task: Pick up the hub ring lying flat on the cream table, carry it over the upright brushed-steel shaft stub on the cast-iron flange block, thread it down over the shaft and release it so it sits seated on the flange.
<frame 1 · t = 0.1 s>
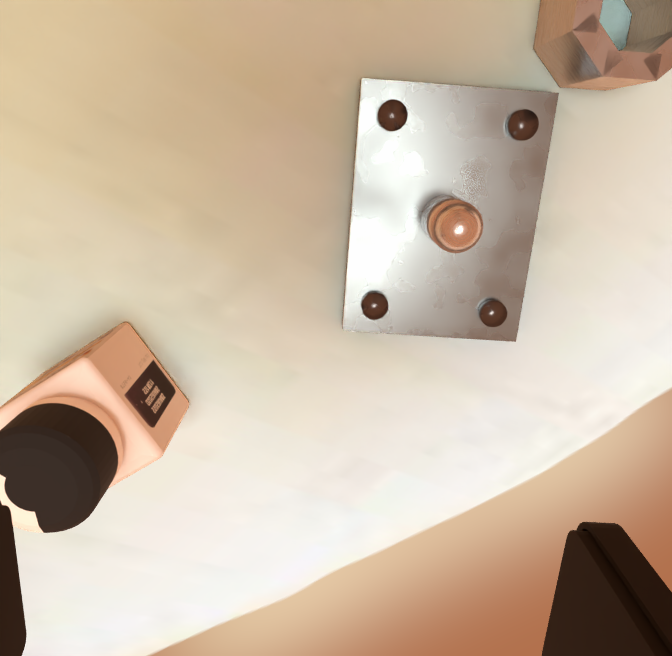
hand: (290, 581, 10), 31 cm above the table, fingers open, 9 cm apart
container: (119, 387, 42), on the table
hub ring: (593, 27, 35), on the table
shaft block: (439, 216, 39), on the table
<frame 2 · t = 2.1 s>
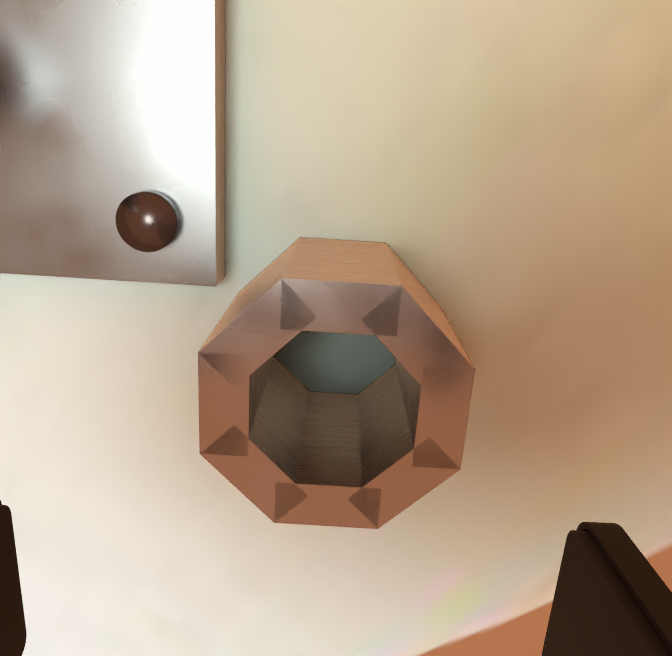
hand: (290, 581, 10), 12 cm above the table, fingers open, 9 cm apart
hub ring: (336, 337, 21), on the table
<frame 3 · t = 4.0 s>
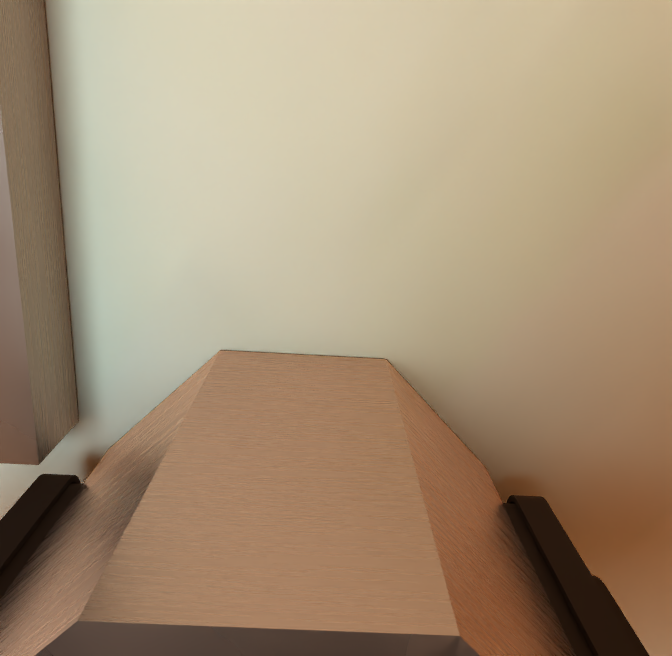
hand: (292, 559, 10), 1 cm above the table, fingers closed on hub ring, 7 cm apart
hub ring: (295, 524, 11), on the table, touching gripper
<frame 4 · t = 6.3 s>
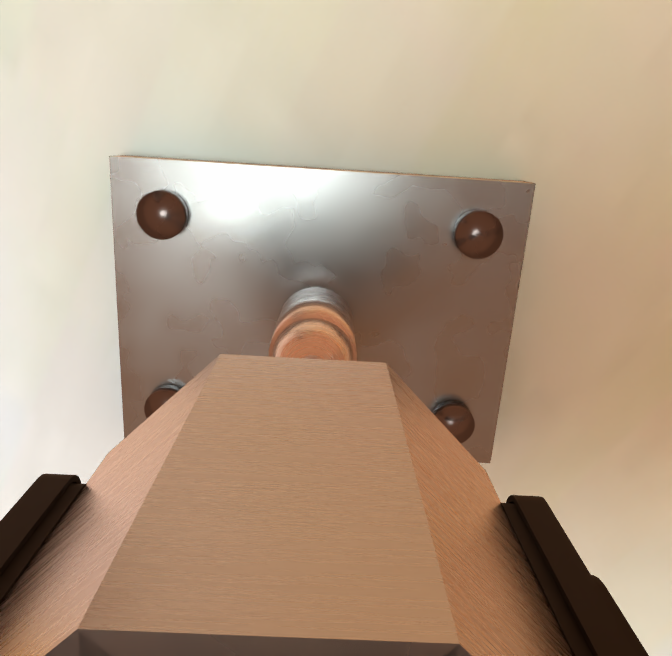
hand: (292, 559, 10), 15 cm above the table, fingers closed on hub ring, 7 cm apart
hub ring: (295, 527, 11), point 14 cm above the table, touching gripper
shaft block: (316, 312, 25), on the table
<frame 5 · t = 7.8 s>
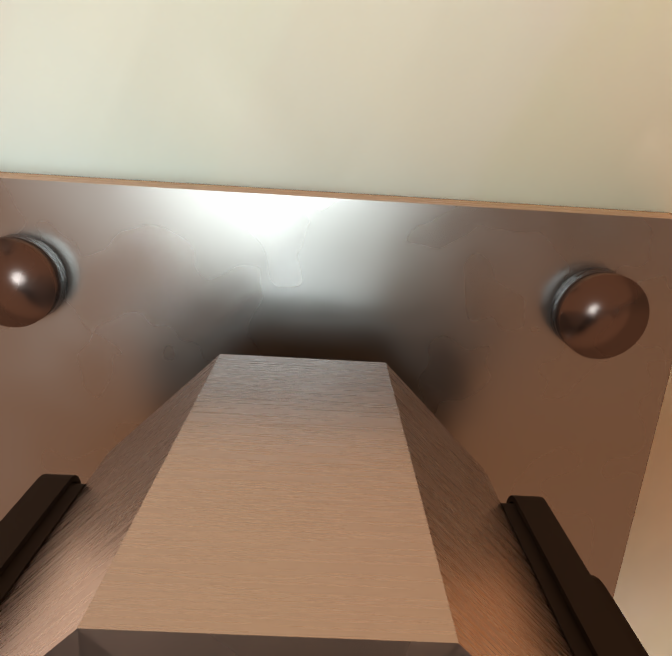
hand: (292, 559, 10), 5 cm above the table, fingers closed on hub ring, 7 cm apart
hub ring: (295, 527, 11), point 4 cm above the table, touching gripper
shaft block: (305, 430, 15), on the table
when the fingers open (4 cm above the table, at t = 8.9 s): hub ring drops 1 cm, resting on shaft block.
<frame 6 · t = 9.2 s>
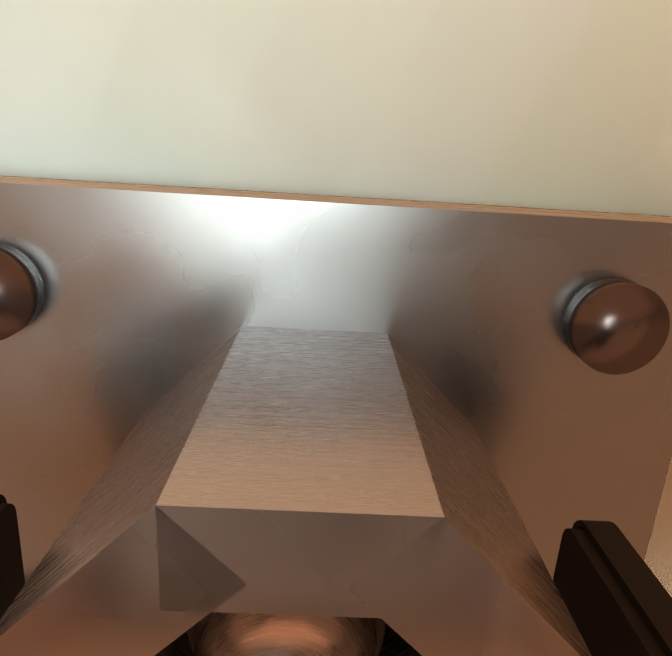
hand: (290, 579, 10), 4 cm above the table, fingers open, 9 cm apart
hub ring: (307, 482, 13), point 1 cm above the table, touching shaft block
shaft block: (302, 447, 14), on the table
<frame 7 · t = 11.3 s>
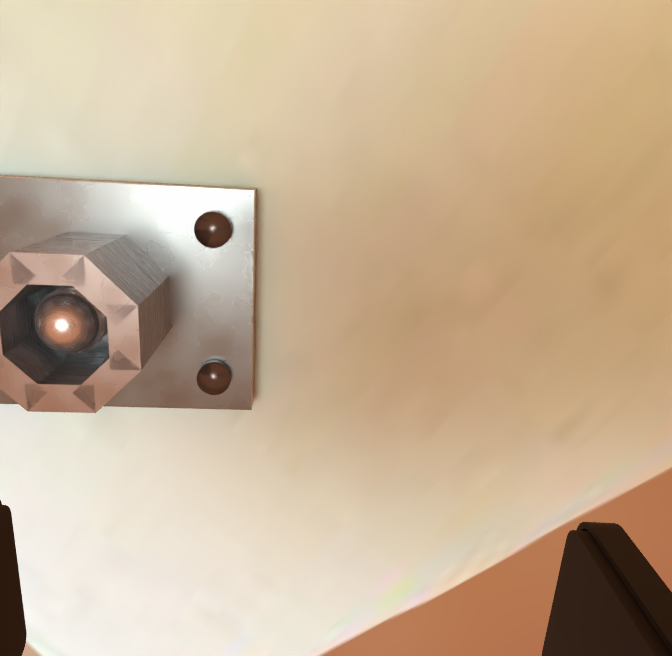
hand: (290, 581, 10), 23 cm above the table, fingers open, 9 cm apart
hub ring: (101, 300, 30), point 1 cm above the table, touching shaft block
shaft block: (107, 293, 31), on the table
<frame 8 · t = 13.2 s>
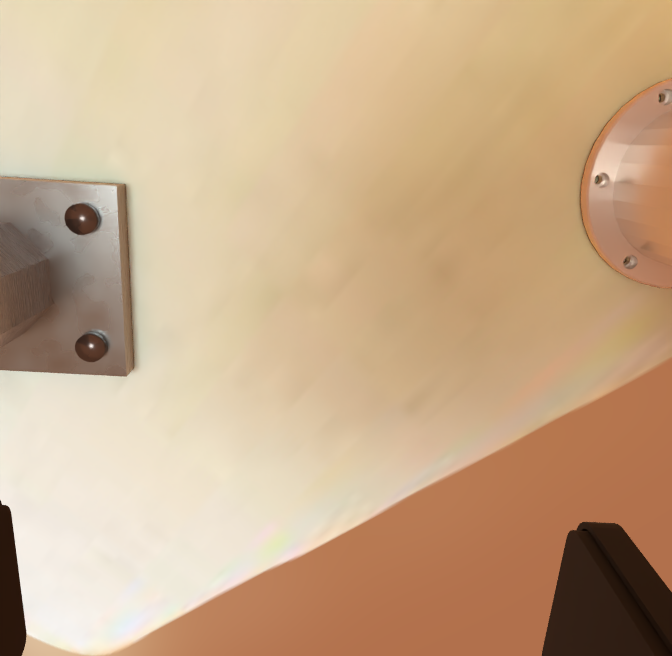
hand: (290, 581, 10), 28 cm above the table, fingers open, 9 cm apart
shaft block: (2, 273, 37), on the table
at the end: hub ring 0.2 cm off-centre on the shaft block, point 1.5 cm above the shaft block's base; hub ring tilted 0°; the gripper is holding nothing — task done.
